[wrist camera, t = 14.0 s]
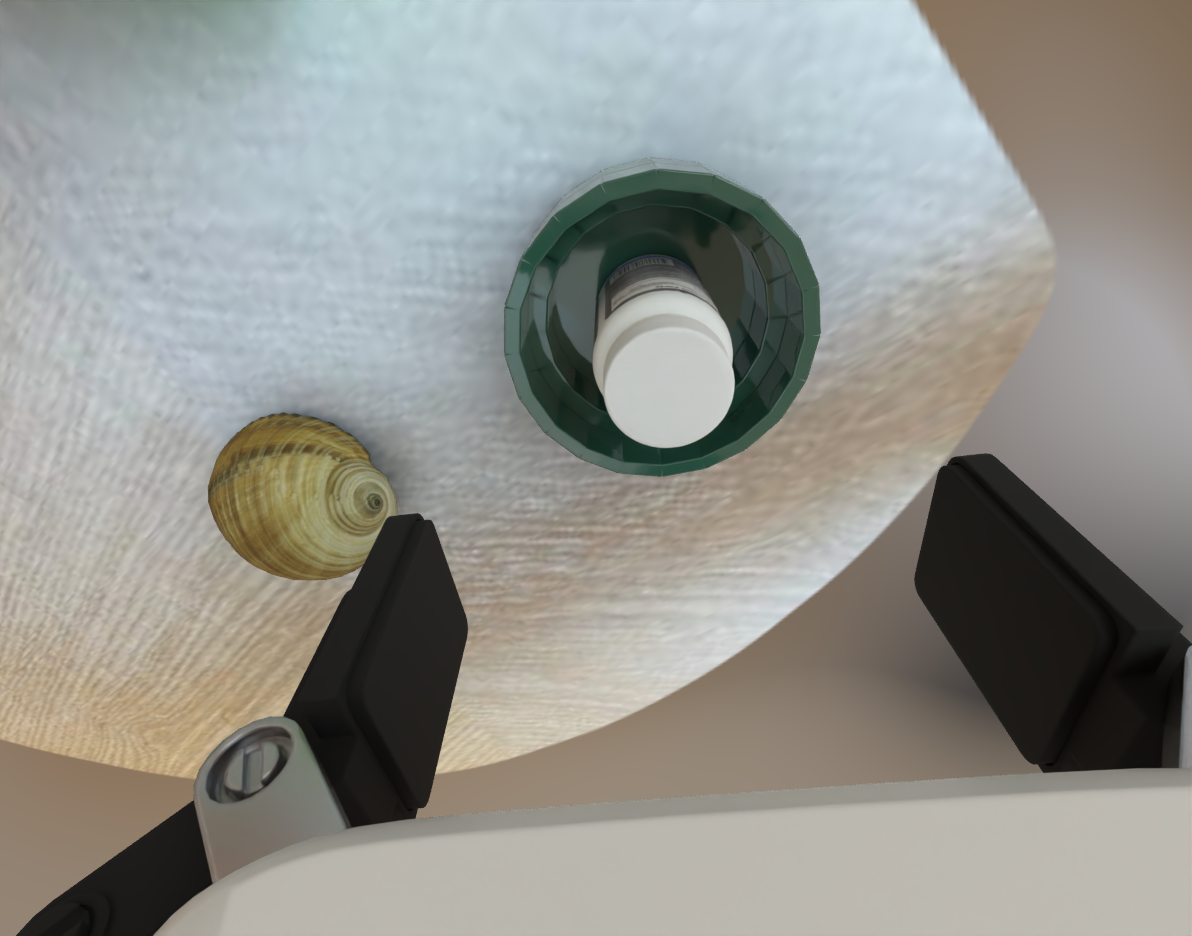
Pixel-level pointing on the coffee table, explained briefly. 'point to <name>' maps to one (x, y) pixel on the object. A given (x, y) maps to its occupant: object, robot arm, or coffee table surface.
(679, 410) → the pill bottle
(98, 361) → the coffee table surface
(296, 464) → the seashell
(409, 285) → the coffee table surface
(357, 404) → the coffee table surface
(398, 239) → the coffee table surface
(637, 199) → the bowl
